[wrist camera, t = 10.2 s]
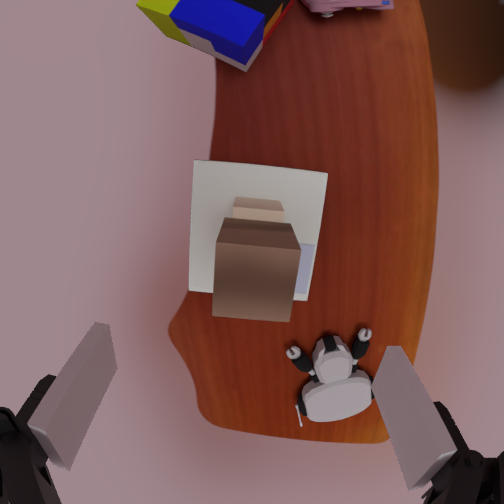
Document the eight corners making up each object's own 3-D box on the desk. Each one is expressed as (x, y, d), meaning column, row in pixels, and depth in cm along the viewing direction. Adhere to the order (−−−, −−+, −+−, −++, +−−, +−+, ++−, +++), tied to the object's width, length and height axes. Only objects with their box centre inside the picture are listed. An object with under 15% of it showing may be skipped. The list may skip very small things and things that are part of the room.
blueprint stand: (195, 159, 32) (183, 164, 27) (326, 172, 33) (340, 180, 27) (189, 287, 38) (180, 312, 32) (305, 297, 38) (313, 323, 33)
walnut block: (224, 217, 29) (215, 242, 22) (290, 223, 29) (301, 250, 22) (220, 277, 31) (212, 315, 24) (282, 282, 31) (289, 322, 24)
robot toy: (279, 336, 41) (298, 412, 45) (281, 355, 37) (301, 432, 41) (368, 314, 40) (373, 393, 44) (378, 331, 36) (381, 411, 40)
